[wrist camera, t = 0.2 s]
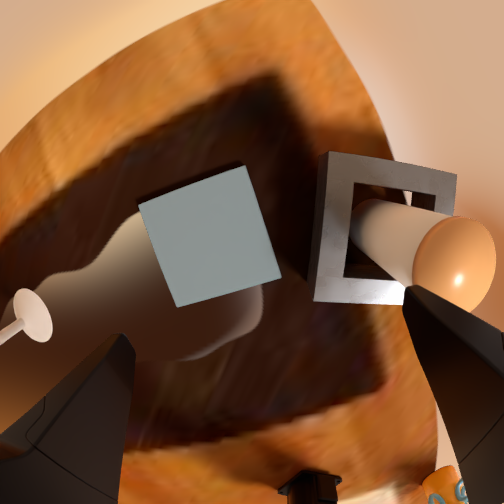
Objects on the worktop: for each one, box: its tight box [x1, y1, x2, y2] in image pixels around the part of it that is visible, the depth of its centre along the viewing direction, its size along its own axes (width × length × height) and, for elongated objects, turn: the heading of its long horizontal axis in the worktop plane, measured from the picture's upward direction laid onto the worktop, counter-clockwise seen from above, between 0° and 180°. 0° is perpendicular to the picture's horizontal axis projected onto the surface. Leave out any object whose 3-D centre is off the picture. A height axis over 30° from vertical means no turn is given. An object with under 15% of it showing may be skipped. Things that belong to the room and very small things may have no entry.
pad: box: [138, 166, 281, 307], centre depth 24 cm, size 9×9×1 cm
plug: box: [349, 199, 496, 312], centre depth 17 cm, size 5×5×12 cm
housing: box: [307, 151, 457, 305], centre depth 21 cm, size 10×10×4 cm
